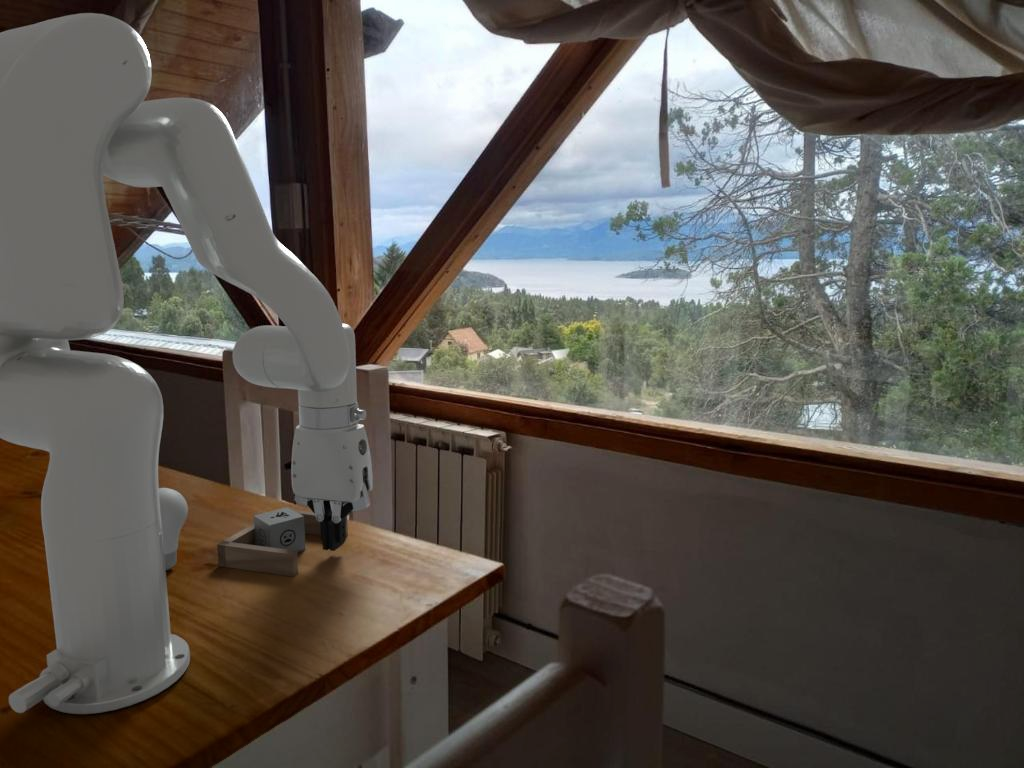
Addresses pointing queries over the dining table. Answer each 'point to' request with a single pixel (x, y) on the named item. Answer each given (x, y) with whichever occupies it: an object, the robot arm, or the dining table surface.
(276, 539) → the dice cube
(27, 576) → the dining table surface
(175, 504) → the lightbulb
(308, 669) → the dining table surface
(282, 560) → the box
